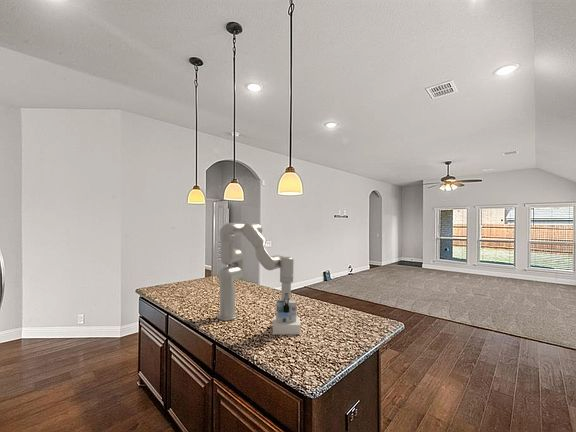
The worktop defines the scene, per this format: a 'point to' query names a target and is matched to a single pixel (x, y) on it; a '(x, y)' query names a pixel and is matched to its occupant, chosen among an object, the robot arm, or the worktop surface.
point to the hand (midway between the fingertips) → (286, 309)
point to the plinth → (286, 327)
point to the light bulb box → (286, 317)
